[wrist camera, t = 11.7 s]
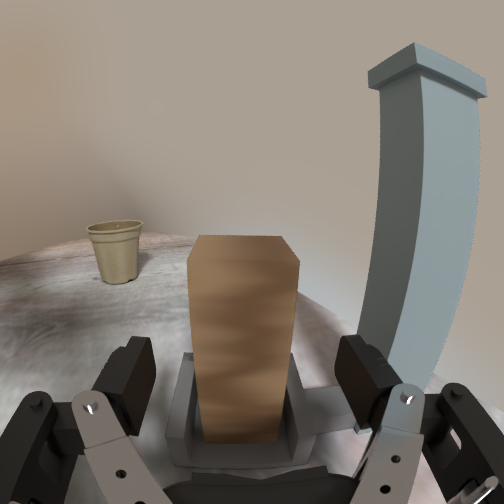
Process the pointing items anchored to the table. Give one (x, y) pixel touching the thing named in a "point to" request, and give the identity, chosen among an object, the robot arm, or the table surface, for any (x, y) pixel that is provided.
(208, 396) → the tall brown wooden block
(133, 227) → the flower pot
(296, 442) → the tall capped pillar
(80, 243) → the table surface
